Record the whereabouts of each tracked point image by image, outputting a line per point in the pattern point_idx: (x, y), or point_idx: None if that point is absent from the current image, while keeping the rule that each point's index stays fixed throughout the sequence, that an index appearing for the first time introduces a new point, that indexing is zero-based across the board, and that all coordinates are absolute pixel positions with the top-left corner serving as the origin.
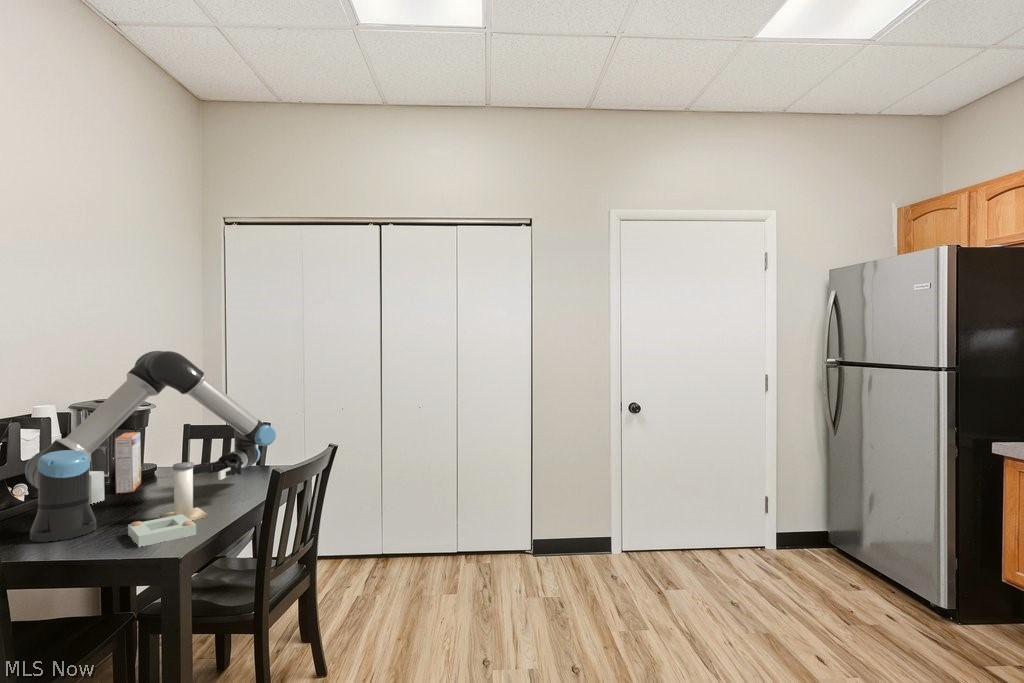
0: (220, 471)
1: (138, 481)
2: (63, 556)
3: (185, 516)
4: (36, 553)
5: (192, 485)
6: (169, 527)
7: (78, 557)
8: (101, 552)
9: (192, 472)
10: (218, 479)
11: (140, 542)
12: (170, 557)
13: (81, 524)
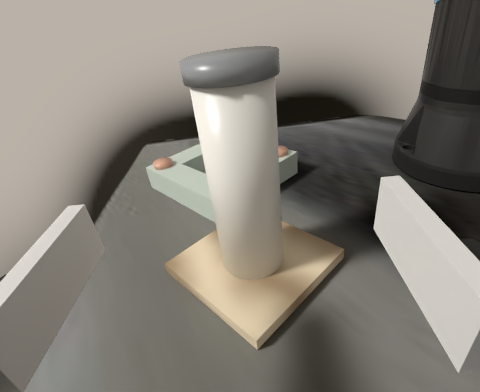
0: (68, 213)
1: None
2: (314, 127)
3: (194, 191)
4: (371, 126)
5: (205, 169)
6: (193, 154)
7: (288, 129)
8: None
9: (194, 110)
10: (103, 248)
11: None
12: (158, 142)
13: (399, 135)
